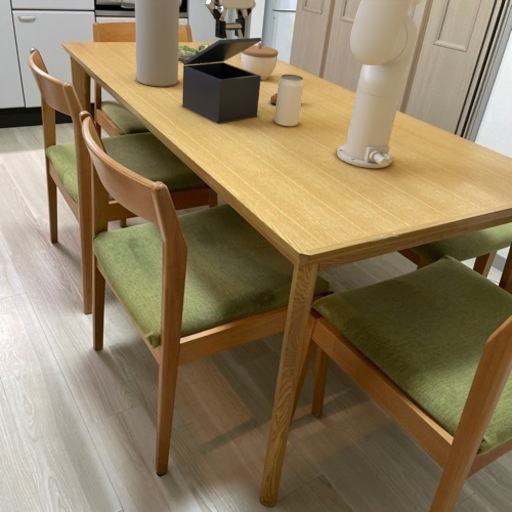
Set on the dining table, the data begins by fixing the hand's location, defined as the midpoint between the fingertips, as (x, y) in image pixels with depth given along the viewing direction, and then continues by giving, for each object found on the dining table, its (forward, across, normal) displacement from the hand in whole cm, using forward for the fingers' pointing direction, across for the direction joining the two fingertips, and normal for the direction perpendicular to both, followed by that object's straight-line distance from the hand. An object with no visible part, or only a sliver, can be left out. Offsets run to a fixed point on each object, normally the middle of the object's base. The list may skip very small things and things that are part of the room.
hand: (229, 36), depth 130 cm
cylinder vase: (+19, +1, +34) cm, 39 cm away
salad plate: (+19, +32, +59) cm, 70 cm away
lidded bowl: (+19, +37, +27) cm, 50 cm away
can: (+20, +10, -13) cm, 26 cm away
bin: (+20, 0, +3) cm, 20 cm away
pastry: (+20, +24, 0) cm, 31 cm away
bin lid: (+4, 0, +3) cm, 5 cm away
